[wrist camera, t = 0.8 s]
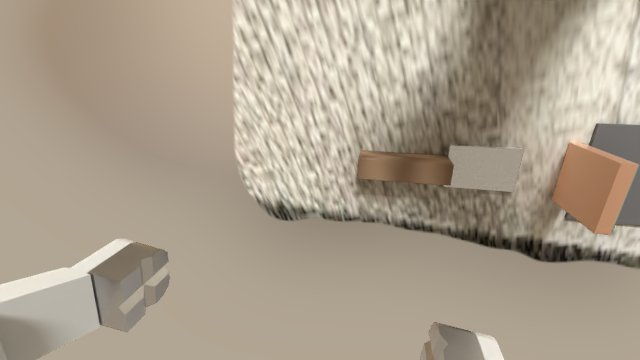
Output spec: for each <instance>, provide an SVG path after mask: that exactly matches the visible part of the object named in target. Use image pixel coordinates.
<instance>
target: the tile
mask: <svg viewBox="0 0 640 360" xmlns="http://www.w3.org/2000/svg"><path fill="white" fill-rule="evenodd" d="M638 168H639V164H636V163H634V162H631V161H629V160H626V159H623V158H621V157H618V156H615V155H613V154H610V153H608V152H605V151H602V150H600V149H597V148H594V147H592V146H589V145H587V144H584V143H569V145H568V149H567V152H566V155H565V158H564V162H563V165H562V168H561V171H560V174H559V178H558V181H557V184H556V187H555V190H554V194H553V197H552V200H553V201H554V202H555V203H556V204H558V205H559V206H560V207H561V208H563V209H564V210H565V211H566V212H568V213H569V214H570V215H571V216H573V217H574V218H575V219H577V220H578V221H579V222H580V223H582V224H583V225H584V226H585V227H587V228H588V229H589V230H590V231H592V232H593V233H594V234H605V235H610V234H611V232H612V231H613V229H614V227H615V224H616V222H617V219H618V217H619V214H620V212H621V209H622V207H623V205H624V202H625V200H626V197H627V195H628V192H629V190H630V187H631V185H632V183H633V180H634V178H635V175H636V173H637V170H638Z"/></svg>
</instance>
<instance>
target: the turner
mask: <svg viewBox="0 0 640 360" xmlns="http://www.w3.org/2000/svg"><path fill="white" fill-rule="evenodd" d="M523 152H524V149H523V148H512V147H492V146H473V145H453V144H449V149H448V155H430V154H412V153H395V152H377V151H361V152H360V156H359V159H358V178H357V179H370V180H383V181H396V182H410V183H423V184H436V185H443V187H454V188H467V189H480V190H493V191H506V192H513V191H514V187H515V183H516V179H517V175H518V171H519V167H520V164H521V160H522V156H523Z"/></svg>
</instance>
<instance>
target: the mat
mask: <svg viewBox="0 0 640 360" xmlns="http://www.w3.org/2000/svg"><path fill="white" fill-rule="evenodd" d="M589 146H592V147H594V148H597V149H600V150H602V151H605V152H608V153H610V154H613V155H615V156H618V157H621V158H623V159H626V160H629V161H631V162H634V163H636V164H639V168H638V170H637V173H636V175H635V178H634V180H633V183H632V185H631V187H630V190H629V192H628V195H627V197H626V200H625V202H624V205H623V207H622V209H621V212H620V214H619V217H618V219H617V222H616V224H628V225H639V226H640V125H623V124H596V127H595V130H594V133H593V136H592V139H591V142H590V145H589ZM565 218H566V219H571V220H577V219H575V218H574V217H573V216H571V215H570V214H569V213H568V212H567V213H566V216H565Z"/></svg>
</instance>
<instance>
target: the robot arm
mask: <svg viewBox="0 0 640 360" xmlns="http://www.w3.org/2000/svg"><path fill="white" fill-rule="evenodd" d="M167 262H168V252H166V251H164V250H162V249H158V248H155V247H152V246H149V245H145V244H141V243H138V242H134V241H130V240H127V239H124V238H121V239H116V240H114V241H113V242H111V243H110V244H108V245H106V246H105V247H103V248H102V249H100V250H98V251H97V252H95V253H93V254H92V255H90V256H89V257H88V258H86V259H84V260H82V261H81V262H79V263H78V264H76V265H74V266H73V267H71V268H66V267H64V268H60V269H57V270H53V271H49V272H45V273H42V274H38V275H35V276H30V277H27V278H23V279H19V280H16V281H12V282H8V283H5V284H1V285H0V360H36V359H38V358H40V357H42V356H43V355H46V354H48V353H50V352H52V351H53V350H55V349H57V348H59V347H61V346H63V345H65V344H67V343H69V342H71V341H73V340H75V339H77V338H79V337H81V336H83V335H85V334H87V333H89V332H91V331H93V330H95V329H96V328H99V327H100V325H102V326H106V327H110V328H113V329H117V330H120V331H124V332H128V331H129V330H130V329H131V328H132V327H133V326H134V325H135V324H136V323H137V322H138V321H139V320H140V319H141V318H142V317H143V316H144V315H145V312H146V307H148V306H150V305H153V304H155V303H157V302H158V301H159V299H160V298H161V297H162V296H163V295H164V293H165V291H166V289H167V287H168V284H169V272H168V270H167V269H166V267H165V264H167ZM429 336H430V341H428V342H426V343H424V346H423V349H422V352H421V357H420V360H504V358H503V356H502V353H501V351H500V348H499V346H498V344H497V342H496V340H495V339H494V338H493V337H492V336H488V335H484V334H480V333H476V332H471V331H468V330H464V329H460V328H455V327H452V326H448V325H444V324H440V323H437V322H434V323H433V324H432V325H431V328H430V330H429Z"/></svg>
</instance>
